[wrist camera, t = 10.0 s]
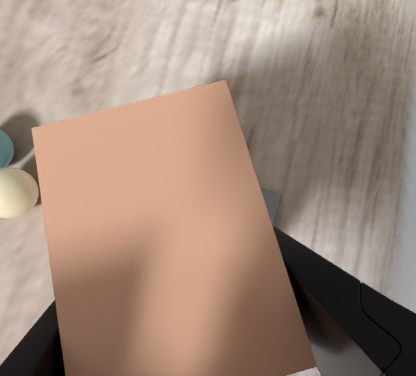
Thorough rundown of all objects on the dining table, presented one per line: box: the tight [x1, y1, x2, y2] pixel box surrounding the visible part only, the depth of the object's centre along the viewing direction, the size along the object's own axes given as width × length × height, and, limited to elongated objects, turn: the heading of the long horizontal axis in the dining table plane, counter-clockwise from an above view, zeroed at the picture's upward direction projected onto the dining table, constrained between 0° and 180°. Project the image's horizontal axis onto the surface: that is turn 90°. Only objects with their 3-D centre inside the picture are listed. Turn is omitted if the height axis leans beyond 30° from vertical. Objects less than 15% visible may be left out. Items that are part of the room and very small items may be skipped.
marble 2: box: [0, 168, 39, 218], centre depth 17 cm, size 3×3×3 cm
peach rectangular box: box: [32, 80, 317, 376], centre depth 12 cm, size 8×6×9 cm
